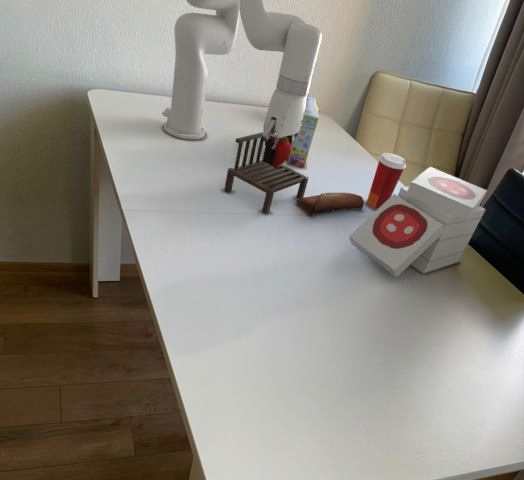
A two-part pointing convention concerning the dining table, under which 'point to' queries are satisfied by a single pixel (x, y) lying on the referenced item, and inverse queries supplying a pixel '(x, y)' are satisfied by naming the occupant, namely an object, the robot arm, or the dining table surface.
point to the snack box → (305, 134)
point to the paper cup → (385, 179)
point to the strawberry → (282, 151)
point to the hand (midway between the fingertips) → (275, 159)
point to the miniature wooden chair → (263, 173)
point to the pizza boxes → (422, 224)
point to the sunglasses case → (330, 202)
